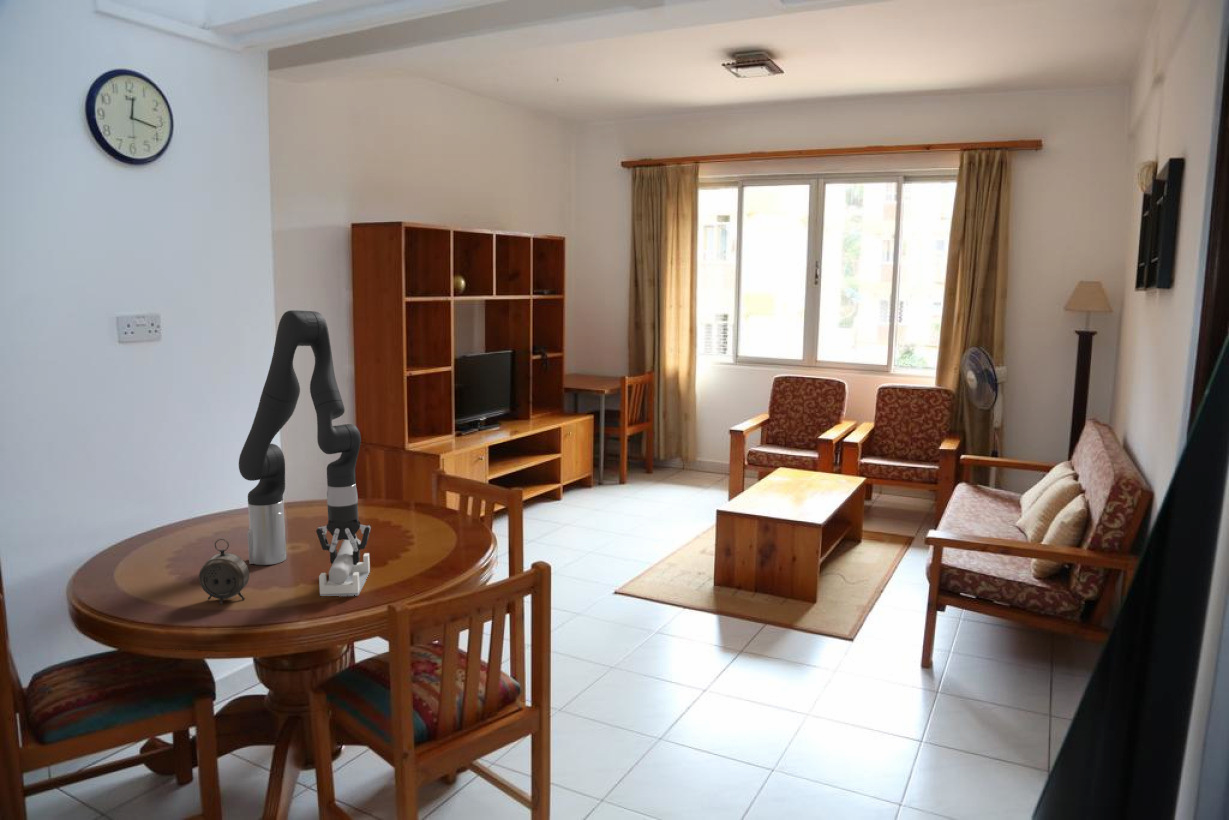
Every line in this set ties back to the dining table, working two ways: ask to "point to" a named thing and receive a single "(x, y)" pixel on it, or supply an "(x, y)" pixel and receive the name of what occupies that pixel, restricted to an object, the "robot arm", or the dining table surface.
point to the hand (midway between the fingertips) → (345, 564)
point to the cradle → (347, 581)
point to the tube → (342, 563)
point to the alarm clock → (224, 575)
